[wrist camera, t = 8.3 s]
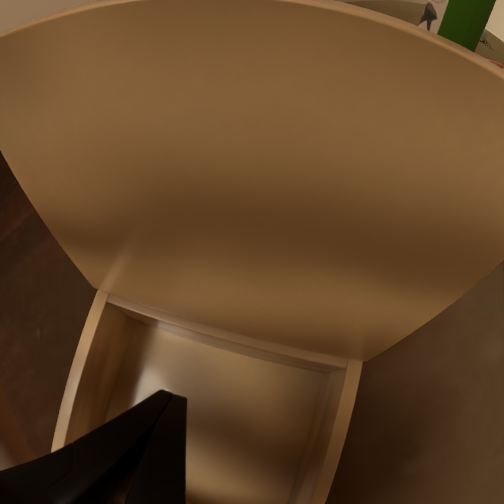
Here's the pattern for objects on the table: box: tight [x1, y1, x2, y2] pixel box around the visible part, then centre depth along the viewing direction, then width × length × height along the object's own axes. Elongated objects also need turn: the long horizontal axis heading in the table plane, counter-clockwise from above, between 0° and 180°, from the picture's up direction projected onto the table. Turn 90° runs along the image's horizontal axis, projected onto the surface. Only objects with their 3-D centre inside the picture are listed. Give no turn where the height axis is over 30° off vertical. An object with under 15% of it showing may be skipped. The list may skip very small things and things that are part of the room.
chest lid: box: [0, 0, 504, 362], centre depth 10 cm, size 13×15×5 cm
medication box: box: [480, 29, 487, 42], centre depth 53 cm, size 12×3×4 cm, turn 154°
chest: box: [51, 289, 363, 504], centre depth 15 cm, size 13×15×6 cm
